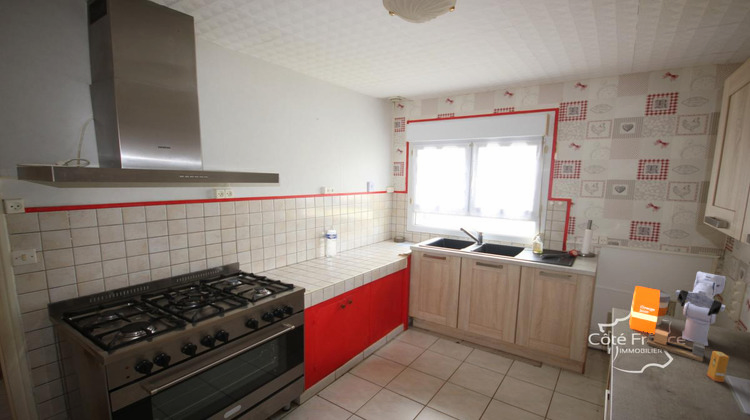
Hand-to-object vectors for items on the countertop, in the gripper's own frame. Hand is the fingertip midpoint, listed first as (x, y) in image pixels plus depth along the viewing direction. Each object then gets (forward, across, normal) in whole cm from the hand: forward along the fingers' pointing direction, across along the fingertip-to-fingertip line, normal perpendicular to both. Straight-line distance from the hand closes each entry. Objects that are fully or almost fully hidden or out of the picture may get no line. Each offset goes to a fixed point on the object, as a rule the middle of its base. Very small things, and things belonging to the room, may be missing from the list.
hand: (695, 308), depth 127 cm
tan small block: (+1, -6, +20) cm, 21 cm away
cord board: (0, -2, +21) cm, 21 cm away
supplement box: (+14, +11, +18) cm, 25 cm away
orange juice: (-10, -14, +25) cm, 30 cm away
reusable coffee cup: (-23, -14, +27) cm, 38 cm away
